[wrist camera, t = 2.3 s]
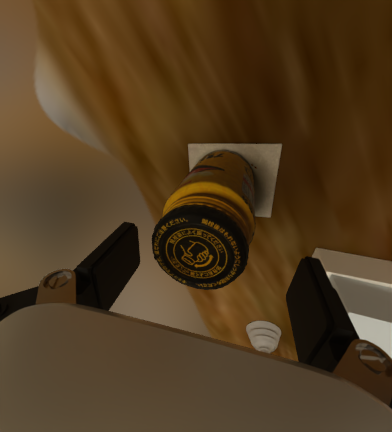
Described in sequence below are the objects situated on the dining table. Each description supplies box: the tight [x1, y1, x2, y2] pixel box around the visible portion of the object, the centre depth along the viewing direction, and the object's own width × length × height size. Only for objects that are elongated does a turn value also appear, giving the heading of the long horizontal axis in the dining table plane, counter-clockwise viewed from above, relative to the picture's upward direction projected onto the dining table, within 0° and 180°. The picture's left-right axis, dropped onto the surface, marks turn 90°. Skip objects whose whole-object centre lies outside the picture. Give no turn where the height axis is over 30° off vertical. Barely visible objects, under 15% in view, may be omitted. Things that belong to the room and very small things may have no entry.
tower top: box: [329, 274, 392, 358], centre depth 19 cm, size 9×9×4 cm
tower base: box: [312, 248, 392, 288], centre depth 22 cm, size 10×10×4 cm
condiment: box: [152, 144, 282, 290], centre depth 15 cm, size 7×8×12 cm
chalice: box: [246, 321, 281, 354], centre depth 23 cm, size 7×7×18 cm
